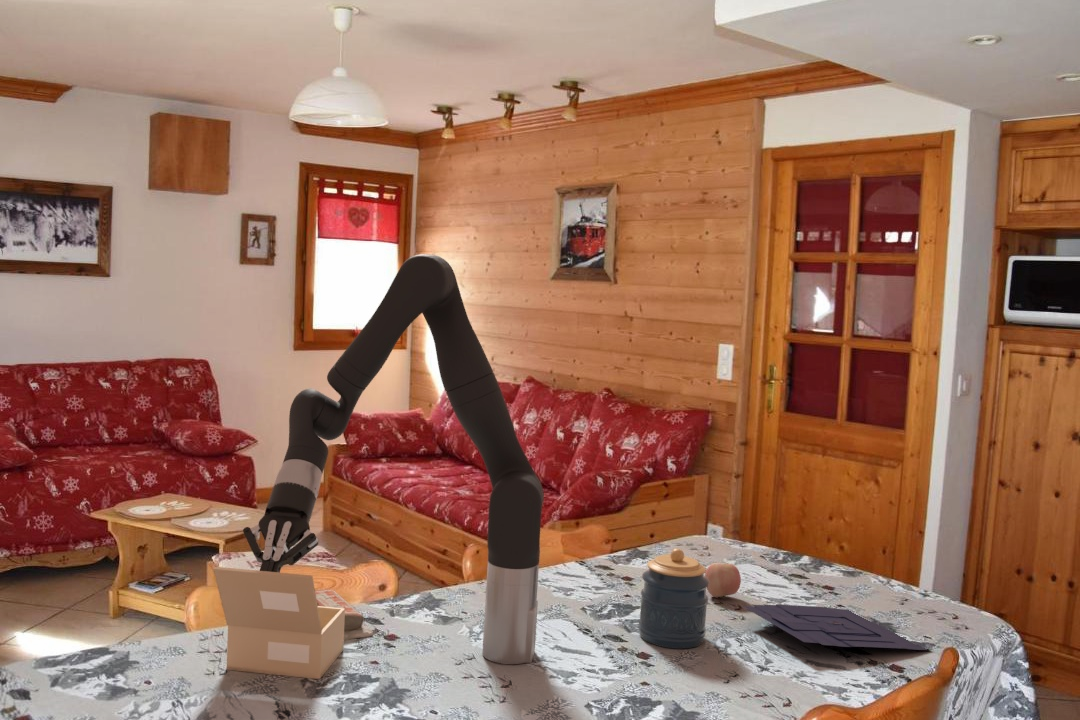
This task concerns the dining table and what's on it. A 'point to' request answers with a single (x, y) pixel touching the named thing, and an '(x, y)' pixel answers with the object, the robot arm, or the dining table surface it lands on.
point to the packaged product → (352, 617)
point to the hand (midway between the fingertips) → (265, 585)
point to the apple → (722, 579)
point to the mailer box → (287, 648)
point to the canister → (674, 601)
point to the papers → (830, 626)
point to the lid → (268, 600)
